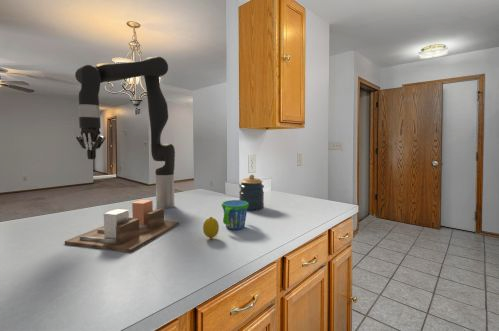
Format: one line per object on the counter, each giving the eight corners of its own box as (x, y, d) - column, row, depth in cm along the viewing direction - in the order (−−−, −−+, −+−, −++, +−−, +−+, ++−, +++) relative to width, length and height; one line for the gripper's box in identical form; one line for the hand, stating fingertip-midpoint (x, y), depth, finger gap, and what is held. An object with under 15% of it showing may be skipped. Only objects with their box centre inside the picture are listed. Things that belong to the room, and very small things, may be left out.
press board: (64, 244, 91) (63, 223, 90) (126, 219, 120) (125, 203, 119) (131, 252, 85) (130, 230, 84) (179, 224, 113) (178, 207, 113)
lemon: (206, 242, 93) (205, 220, 92) (201, 237, 98) (201, 215, 97) (221, 240, 96) (221, 217, 95) (215, 235, 101) (215, 214, 100)
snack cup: (235, 235, 100) (235, 208, 100) (212, 230, 106) (212, 205, 105) (255, 224, 114) (256, 200, 113) (235, 220, 119) (235, 197, 118)
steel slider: (104, 239, 92) (103, 213, 91) (117, 233, 97) (116, 209, 97) (117, 240, 90) (116, 214, 90) (129, 234, 96) (128, 210, 95)
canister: (268, 207, 144) (268, 174, 142) (255, 212, 133) (256, 177, 131) (247, 204, 150) (247, 172, 149) (234, 209, 140) (234, 175, 138)
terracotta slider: (132, 225, 107) (132, 202, 107) (142, 220, 113) (141, 199, 112) (143, 226, 106) (143, 203, 105) (152, 221, 112) (152, 200, 111)
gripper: (110, 117, 112) (111, 159, 114) (84, 117, 115) (86, 158, 117) (95, 115, 105) (97, 160, 106) (68, 116, 108) (70, 159, 110)
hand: (91, 159), depth 112 cm, fingers closed
